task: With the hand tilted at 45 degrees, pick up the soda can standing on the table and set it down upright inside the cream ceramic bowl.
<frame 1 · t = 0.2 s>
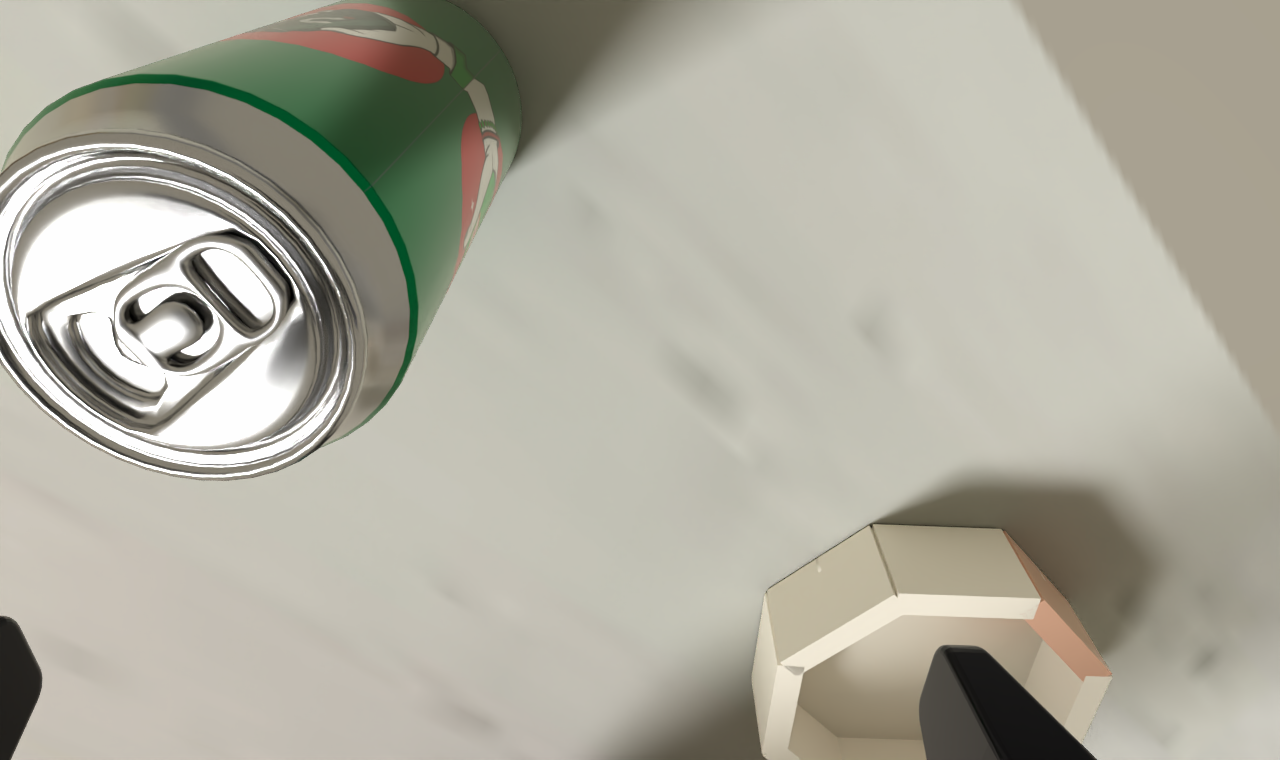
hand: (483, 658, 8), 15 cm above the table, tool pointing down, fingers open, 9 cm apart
bowl: (904, 642, 29), on the table
soda can: (419, 102, 20), on the table
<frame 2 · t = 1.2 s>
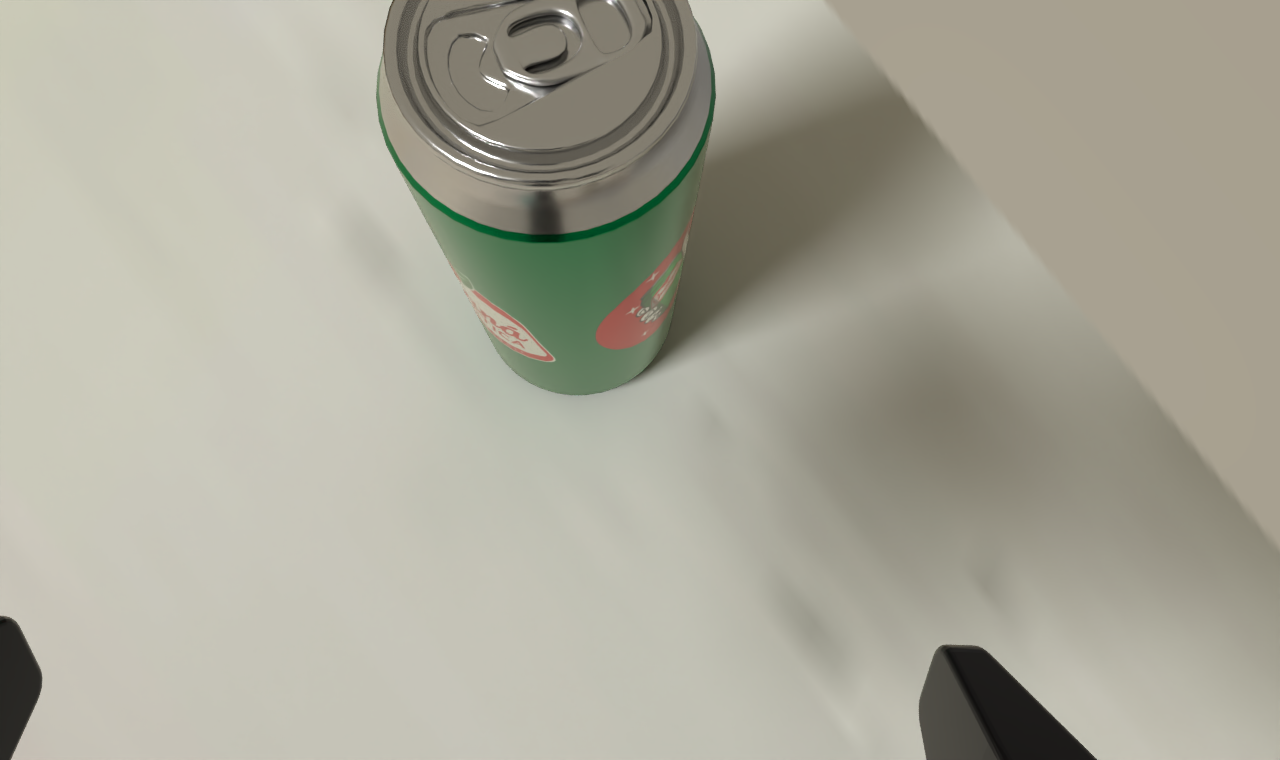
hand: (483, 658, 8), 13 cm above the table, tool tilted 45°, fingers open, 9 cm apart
soda can: (580, 312, 23), on the table
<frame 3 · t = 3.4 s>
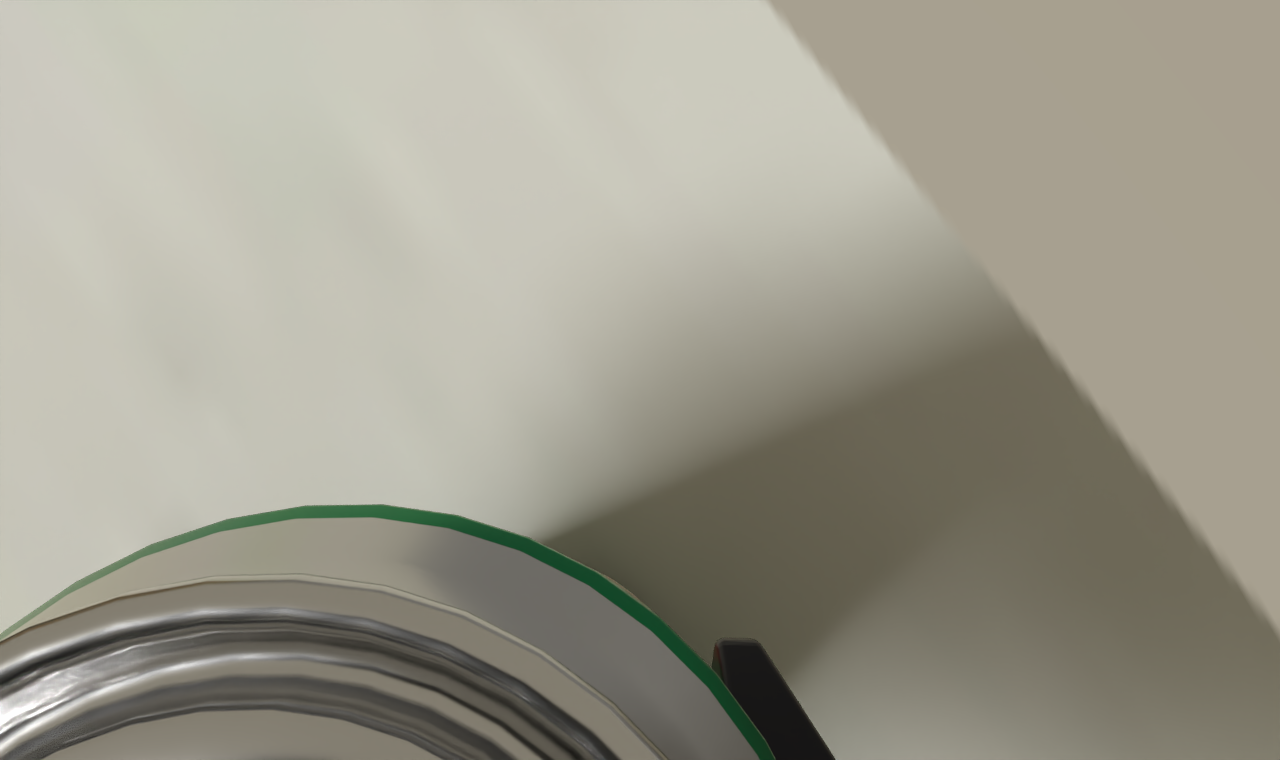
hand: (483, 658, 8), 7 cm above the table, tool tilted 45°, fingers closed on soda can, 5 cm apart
soda can: (537, 707, 15), on the table, touching gripper
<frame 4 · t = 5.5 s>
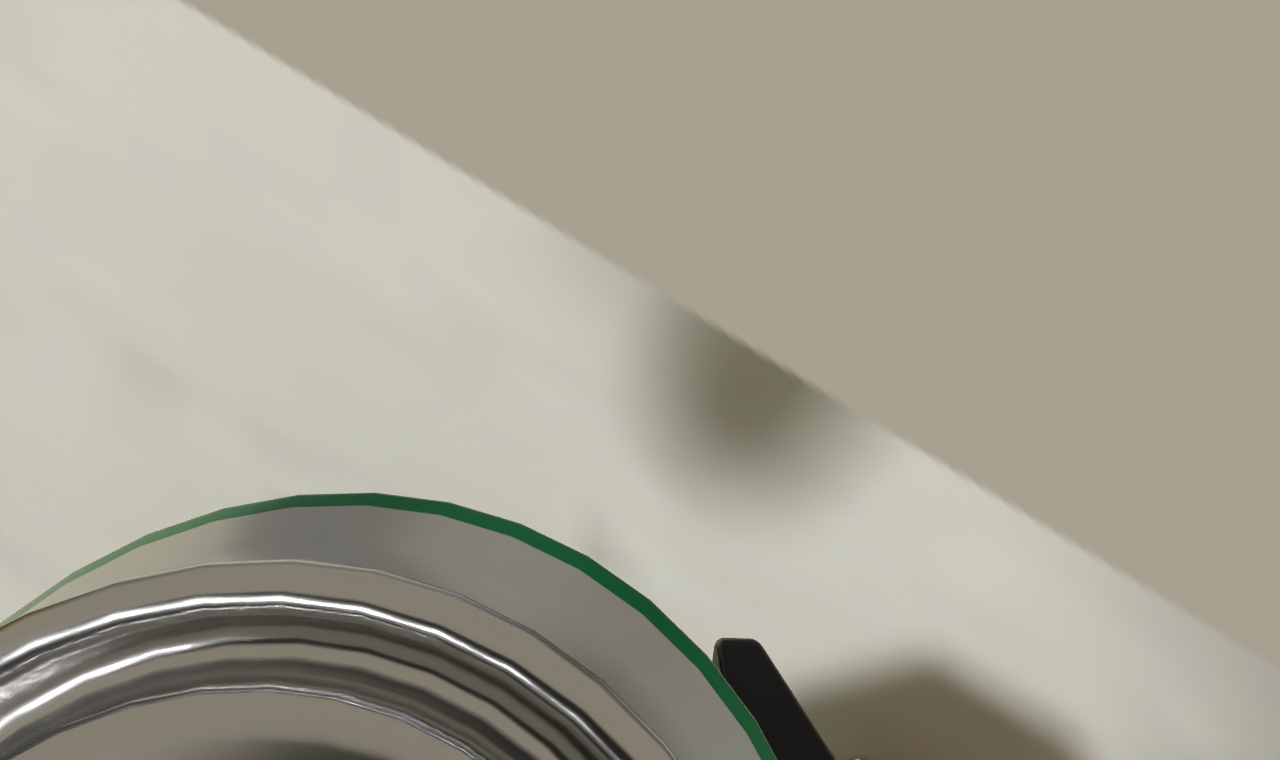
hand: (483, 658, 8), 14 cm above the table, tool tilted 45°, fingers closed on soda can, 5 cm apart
soda can: (535, 700, 15), point 7 cm above the table, touching gripper
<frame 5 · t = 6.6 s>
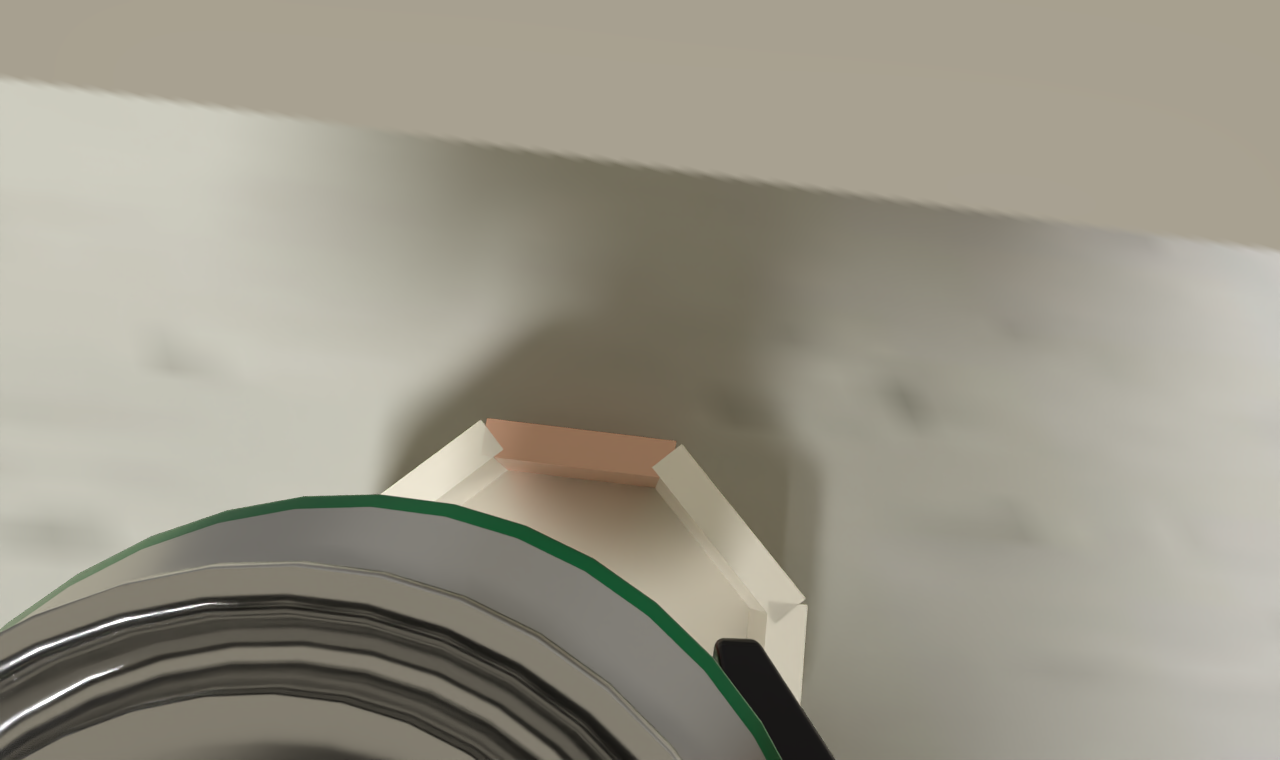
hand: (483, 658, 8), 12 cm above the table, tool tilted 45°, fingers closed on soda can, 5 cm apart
bowl: (558, 662, 19), on the table
soda can: (538, 700, 15), point 5 cm above the table, touching gripper
when the fingers open (8 cm above the table, at t = 7.5 s): soda can drops 1 cm, resting on bowl.
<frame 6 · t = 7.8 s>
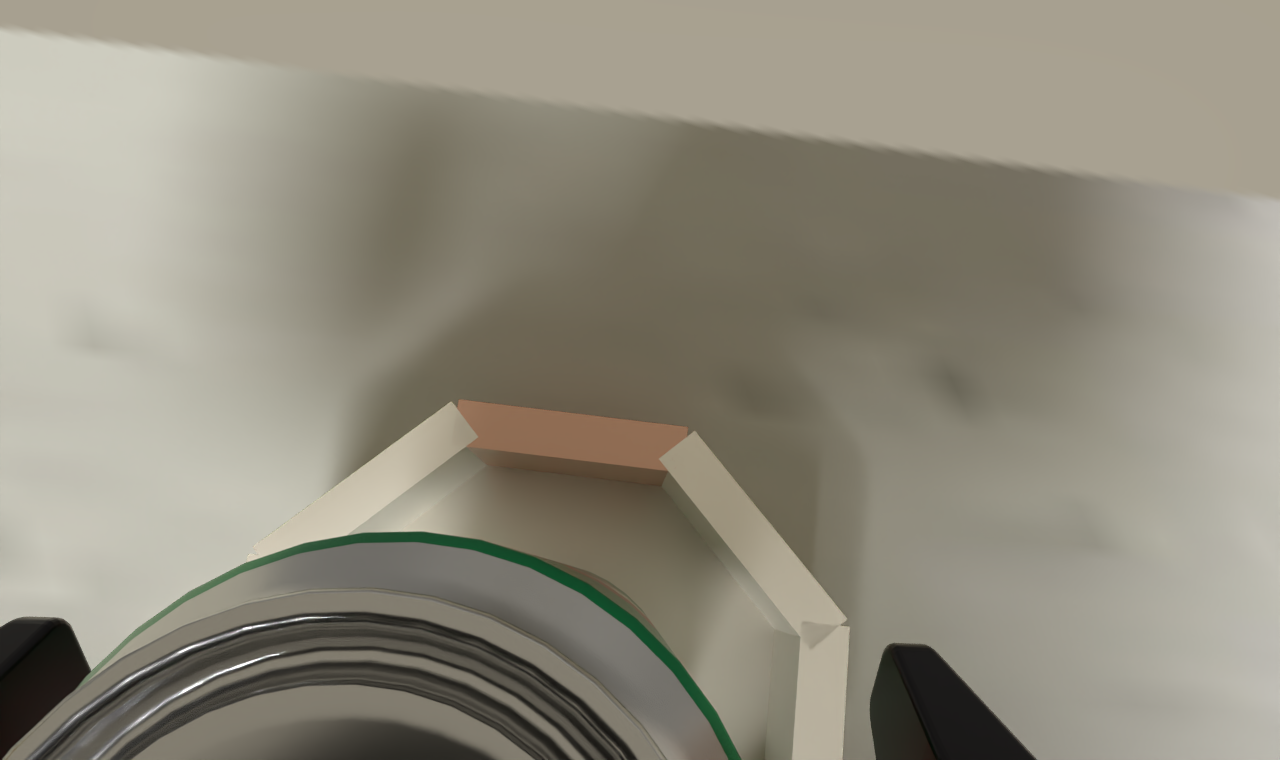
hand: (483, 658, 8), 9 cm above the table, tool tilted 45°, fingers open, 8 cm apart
bowl: (546, 694, 16), on the table
soda can: (540, 699, 16), resting on bowl
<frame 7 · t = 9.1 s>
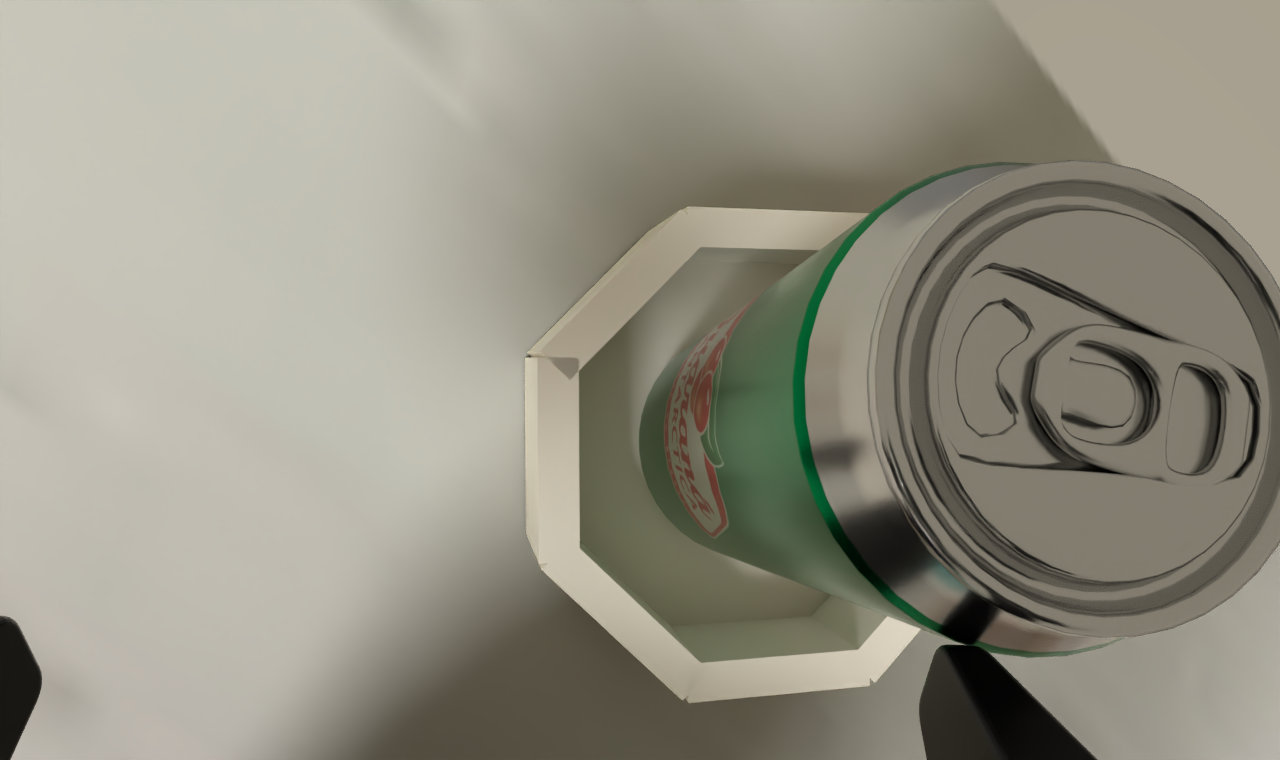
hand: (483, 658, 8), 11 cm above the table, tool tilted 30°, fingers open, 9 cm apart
bowl: (734, 440, 20), on the table
soda can: (741, 443, 19), point 1 cm above the table, touching bowl
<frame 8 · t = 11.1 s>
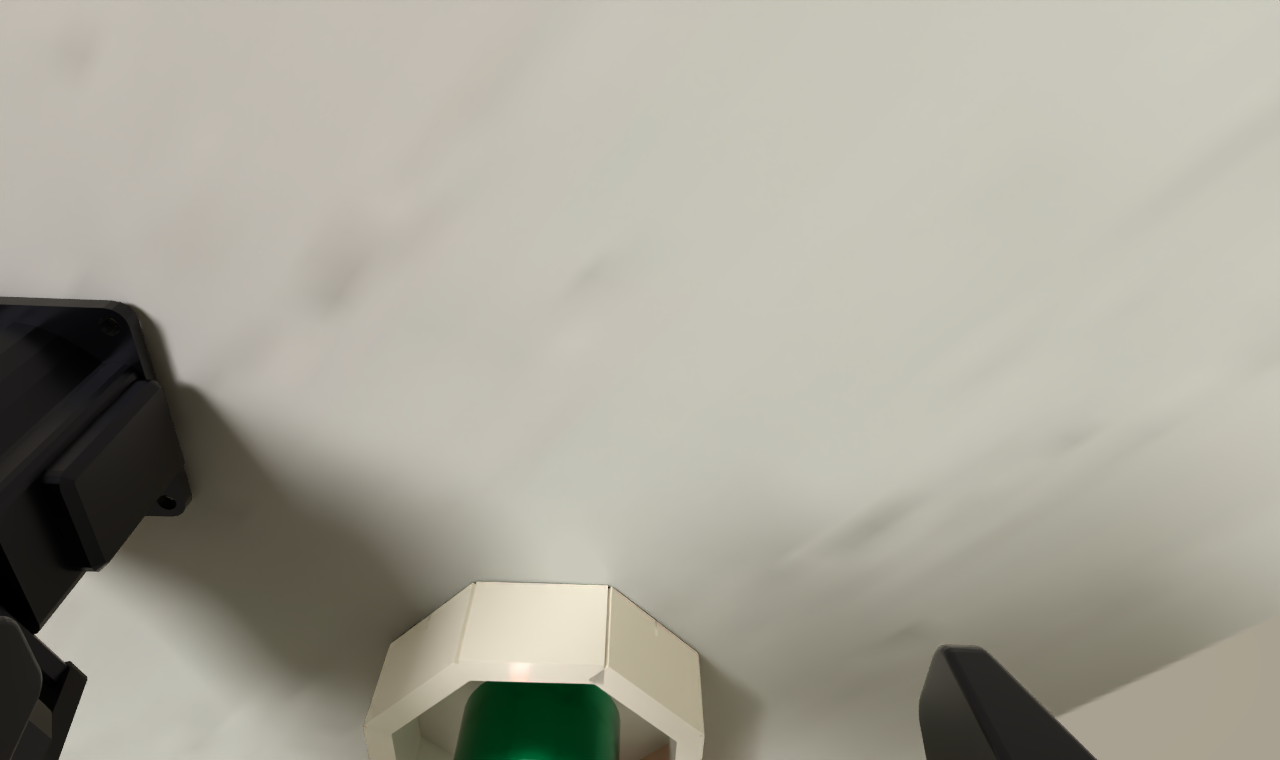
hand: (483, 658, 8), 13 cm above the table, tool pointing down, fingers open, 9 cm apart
bowl: (545, 691, 28), on the table
soda can: (544, 700, 28), resting on bowl
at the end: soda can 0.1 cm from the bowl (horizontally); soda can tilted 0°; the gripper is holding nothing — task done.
